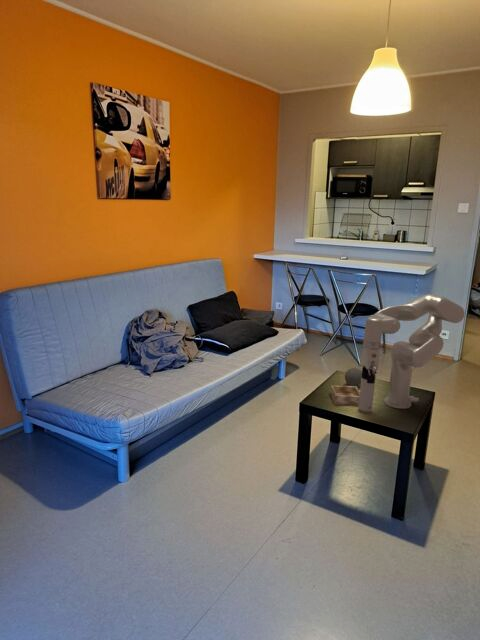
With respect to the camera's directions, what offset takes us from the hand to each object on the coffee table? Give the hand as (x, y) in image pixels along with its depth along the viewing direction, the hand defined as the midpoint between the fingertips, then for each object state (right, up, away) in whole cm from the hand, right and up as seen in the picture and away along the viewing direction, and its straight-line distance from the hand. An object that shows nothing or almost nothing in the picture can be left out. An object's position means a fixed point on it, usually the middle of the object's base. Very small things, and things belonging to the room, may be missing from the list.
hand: (367, 379), depth 209 cm
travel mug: (0, -16, +4) cm, 16 cm away
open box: (-7, -12, +16) cm, 21 cm away
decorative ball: (+2, -8, +33) cm, 34 cm away
